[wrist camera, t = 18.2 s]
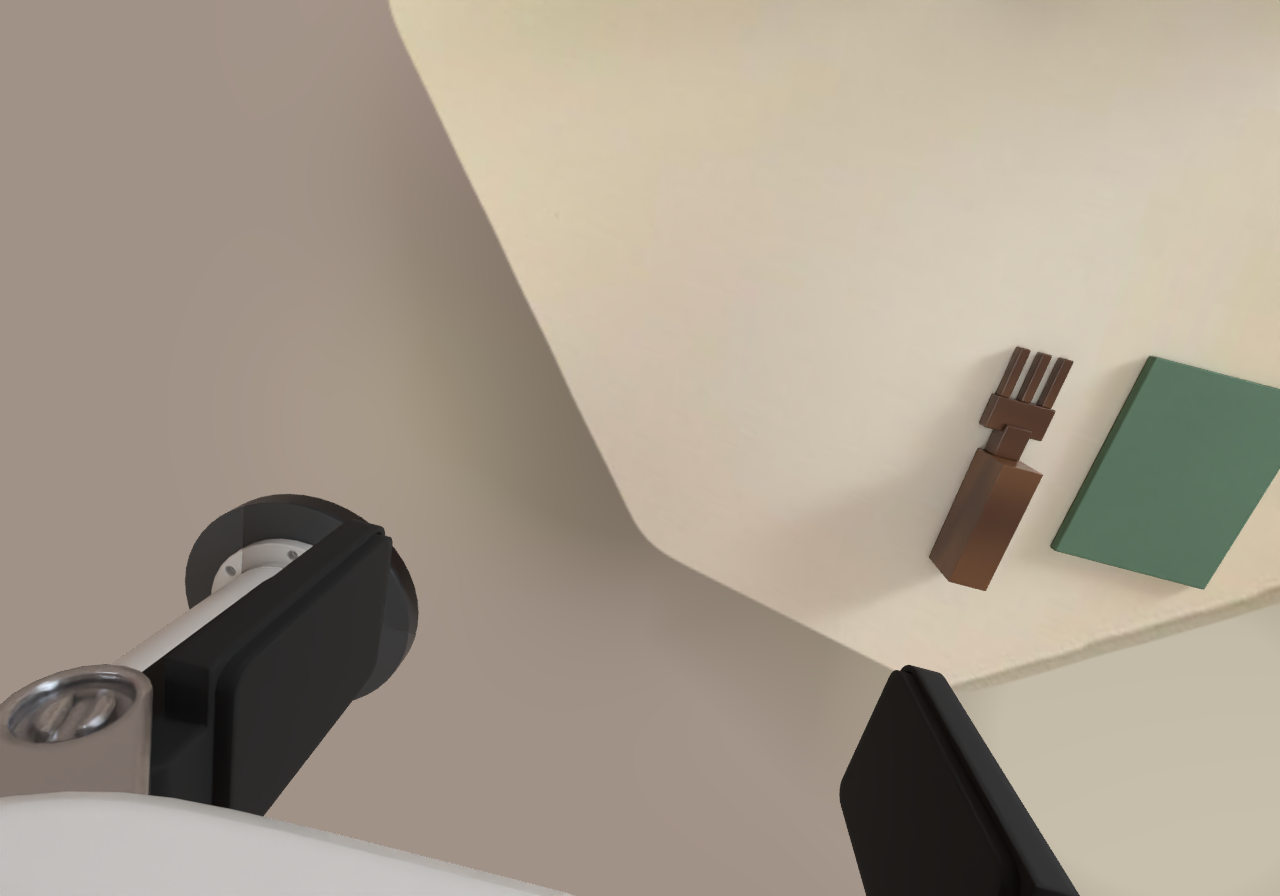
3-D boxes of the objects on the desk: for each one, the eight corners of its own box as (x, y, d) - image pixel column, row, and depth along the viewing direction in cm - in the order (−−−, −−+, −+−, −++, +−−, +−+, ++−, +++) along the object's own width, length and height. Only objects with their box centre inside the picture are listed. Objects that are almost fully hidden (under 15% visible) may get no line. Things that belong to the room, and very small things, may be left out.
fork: (971, 568, 40) (995, 593, 37) (920, 555, 40) (939, 579, 37) (1071, 360, 35) (1107, 369, 32) (1013, 345, 35) (1043, 353, 32)
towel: (1196, 585, 39) (1204, 590, 38) (1049, 546, 39) (1055, 551, 38) (1312, 398, 35) (1323, 400, 34) (1149, 355, 35) (1156, 357, 34)
